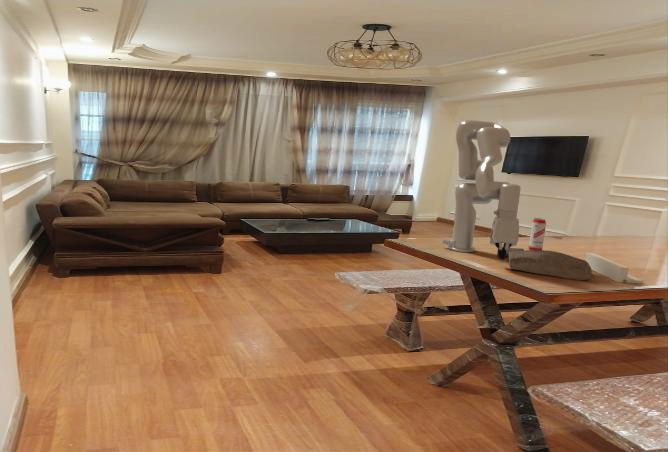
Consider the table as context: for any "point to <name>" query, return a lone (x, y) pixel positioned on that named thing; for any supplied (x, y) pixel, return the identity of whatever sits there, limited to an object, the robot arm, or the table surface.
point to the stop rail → (610, 269)
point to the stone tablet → (550, 264)
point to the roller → (512, 250)
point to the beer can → (537, 234)
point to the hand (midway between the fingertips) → (501, 258)
